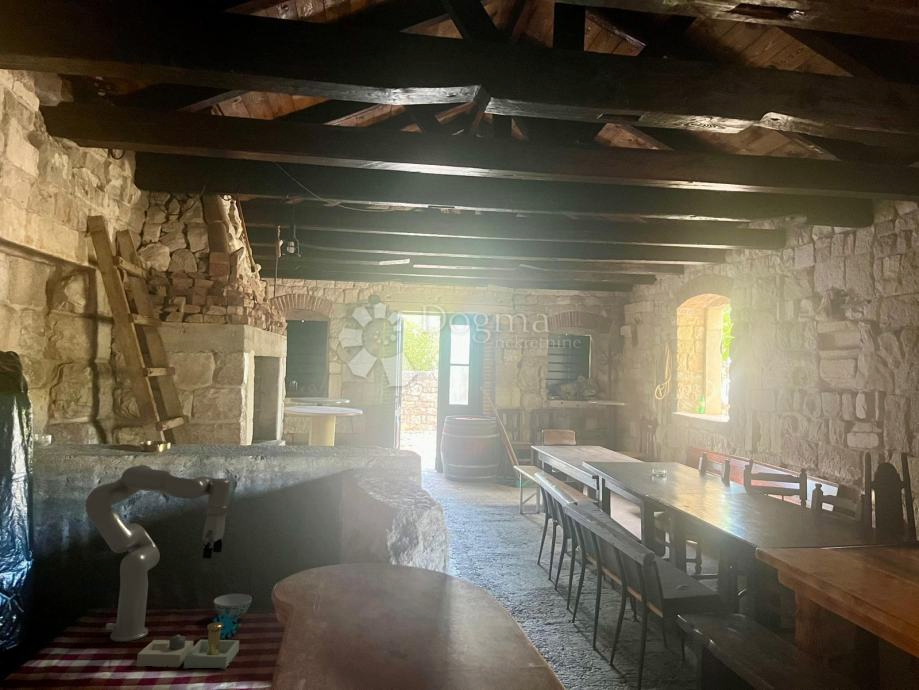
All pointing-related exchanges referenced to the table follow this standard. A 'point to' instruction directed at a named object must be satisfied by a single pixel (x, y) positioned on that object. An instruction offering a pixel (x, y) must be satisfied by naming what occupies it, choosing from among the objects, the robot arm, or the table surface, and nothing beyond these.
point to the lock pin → (214, 638)
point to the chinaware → (232, 605)
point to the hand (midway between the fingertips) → (212, 555)
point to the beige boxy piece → (165, 652)
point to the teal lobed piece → (227, 625)
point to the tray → (201, 660)
